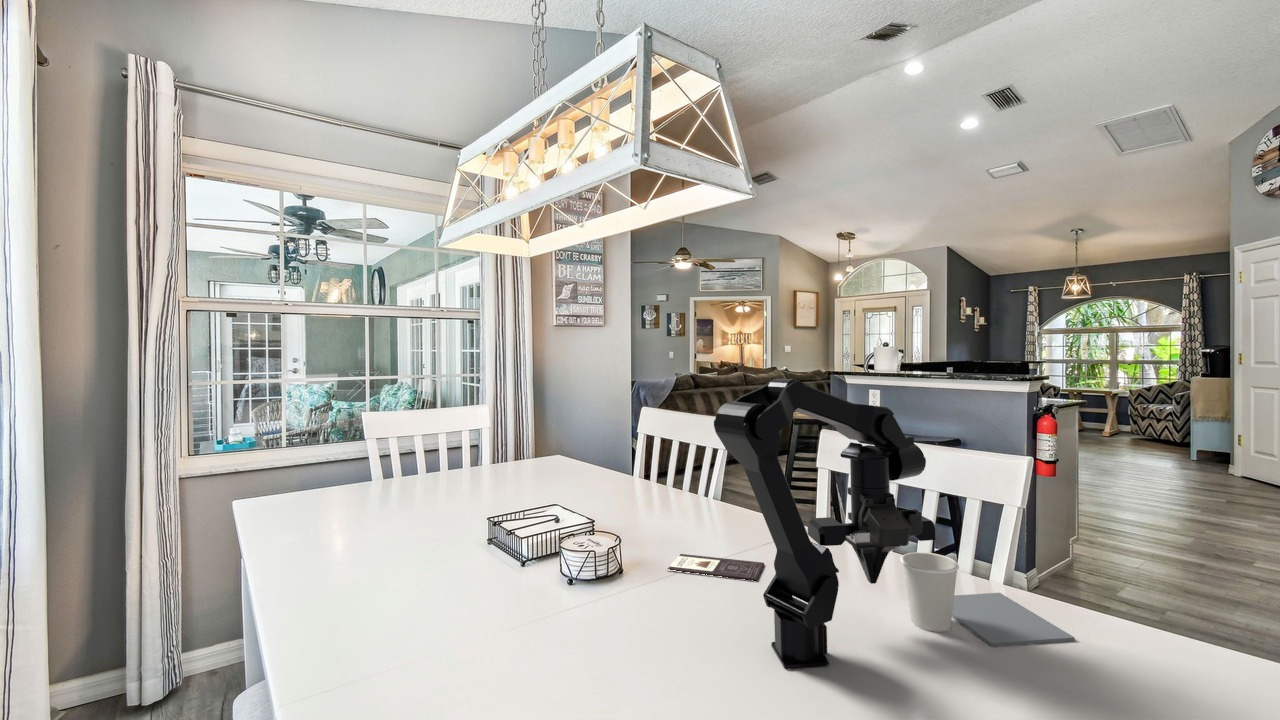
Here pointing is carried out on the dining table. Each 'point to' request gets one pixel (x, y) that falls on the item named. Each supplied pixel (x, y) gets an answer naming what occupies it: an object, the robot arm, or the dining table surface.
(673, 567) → the chocolate bar
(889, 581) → the dining table surface
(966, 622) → the mat
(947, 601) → the dixie cup
